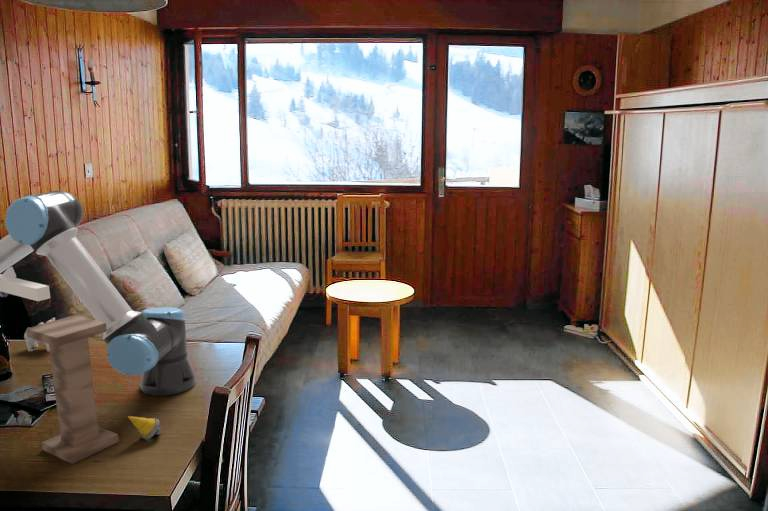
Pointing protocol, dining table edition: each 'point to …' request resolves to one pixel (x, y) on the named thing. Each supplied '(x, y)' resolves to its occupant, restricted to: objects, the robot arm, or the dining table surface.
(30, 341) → the dog figurine
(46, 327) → the pedestal
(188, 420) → the dining table surface
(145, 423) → the drill bit
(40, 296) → the bar
